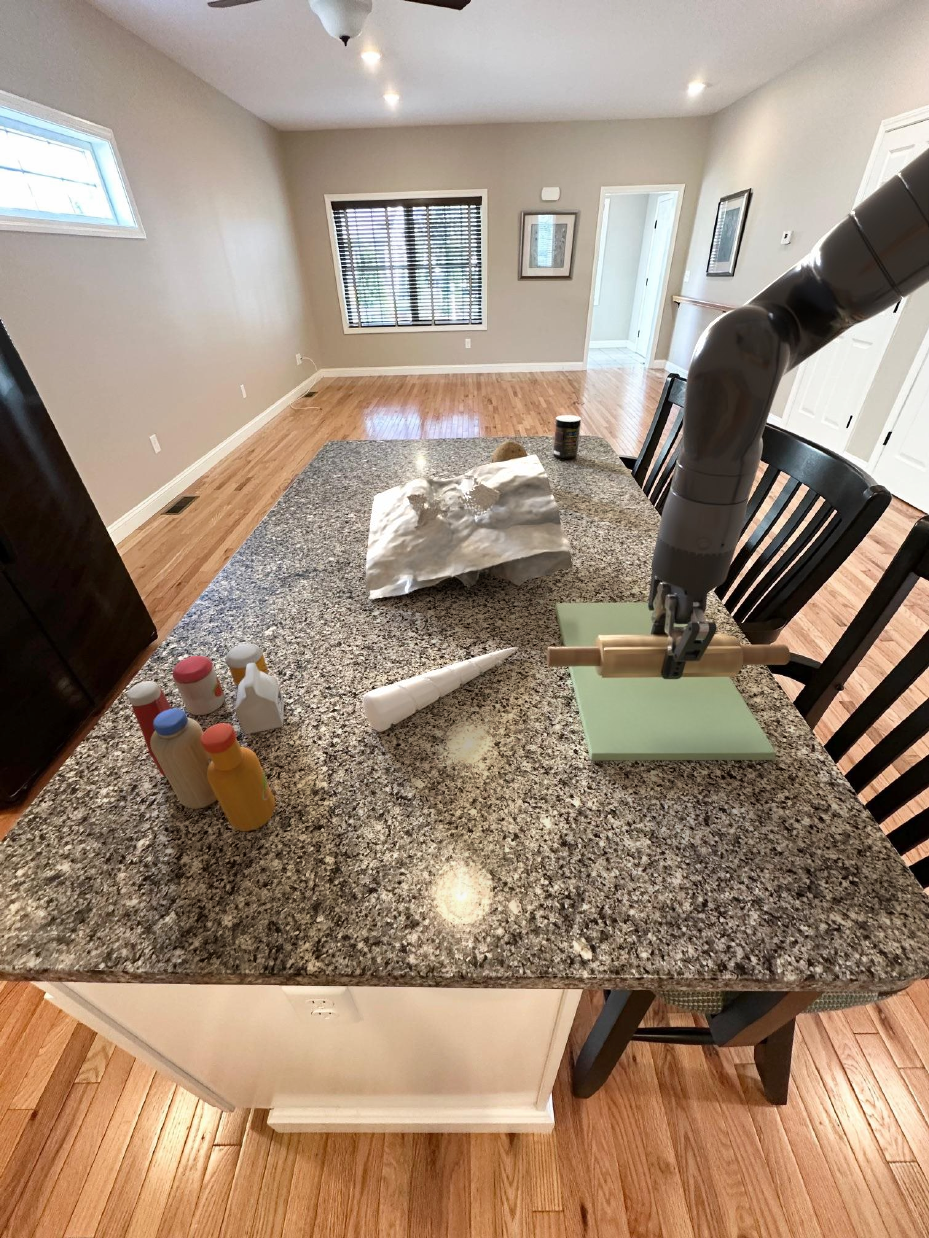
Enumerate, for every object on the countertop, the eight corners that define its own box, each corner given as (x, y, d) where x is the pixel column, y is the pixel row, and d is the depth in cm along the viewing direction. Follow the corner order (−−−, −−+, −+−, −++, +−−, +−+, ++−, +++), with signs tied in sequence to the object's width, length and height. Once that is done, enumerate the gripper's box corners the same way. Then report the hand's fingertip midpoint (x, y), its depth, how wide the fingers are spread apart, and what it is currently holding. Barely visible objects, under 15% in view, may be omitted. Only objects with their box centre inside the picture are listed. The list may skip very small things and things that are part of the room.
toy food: (280, 827, 51) (248, 745, 44) (140, 860, 48) (83, 779, 41) (285, 661, 72) (264, 588, 65) (188, 678, 70) (155, 604, 63)
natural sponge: (483, 483, 127) (483, 443, 122) (501, 473, 133) (502, 433, 128) (515, 490, 123) (517, 448, 117) (532, 479, 129) (535, 438, 123)
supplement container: (582, 457, 142) (586, 418, 136) (565, 462, 139) (569, 423, 133) (564, 452, 147) (567, 413, 141) (547, 457, 143) (550, 418, 137)
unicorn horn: (536, 664, 70) (538, 636, 68) (380, 741, 60) (375, 712, 57) (514, 646, 74) (515, 619, 71) (363, 717, 63) (357, 688, 60)
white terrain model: (349, 566, 79) (364, 475, 103) (380, 639, 90) (387, 541, 113) (575, 519, 76) (537, 437, 100) (579, 600, 87) (544, 508, 111)
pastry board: (773, 760, 56) (776, 752, 56) (590, 760, 57) (591, 753, 56) (681, 608, 81) (683, 601, 80) (554, 609, 81) (555, 603, 81)
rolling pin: (769, 661, 64) (778, 628, 62) (790, 681, 60) (800, 646, 58) (544, 663, 65) (546, 631, 63) (549, 683, 60) (551, 648, 58)
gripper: (768, 568, 46) (718, 704, 56) (708, 505, 58) (675, 627, 68) (684, 569, 46) (648, 705, 56) (641, 506, 58) (618, 628, 68)
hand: (663, 662), depth 62 cm, fingers closed on rolling pin, 4 cm apart
